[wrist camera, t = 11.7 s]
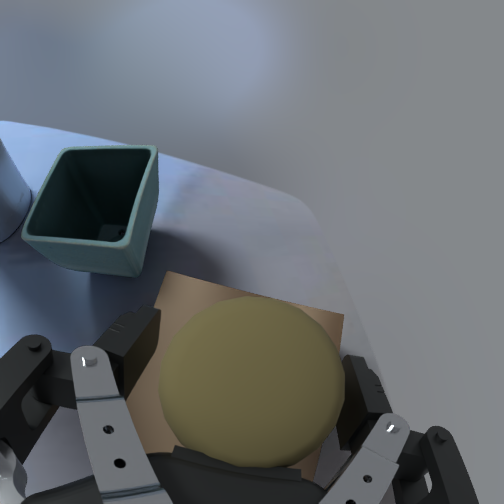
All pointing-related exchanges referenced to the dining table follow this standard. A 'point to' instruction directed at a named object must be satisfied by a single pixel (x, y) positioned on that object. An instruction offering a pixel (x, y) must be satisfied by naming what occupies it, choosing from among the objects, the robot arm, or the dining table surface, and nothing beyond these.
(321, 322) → the walnut block
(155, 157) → the flower pot
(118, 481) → the robot arm
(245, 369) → the cork
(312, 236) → the dining table surface
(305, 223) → the dining table surface
